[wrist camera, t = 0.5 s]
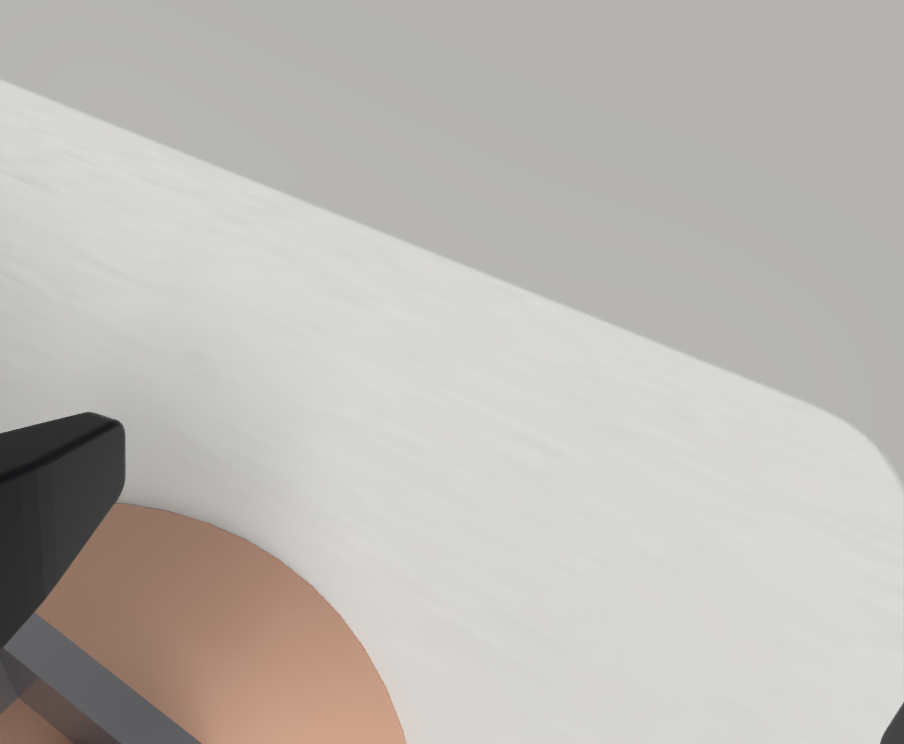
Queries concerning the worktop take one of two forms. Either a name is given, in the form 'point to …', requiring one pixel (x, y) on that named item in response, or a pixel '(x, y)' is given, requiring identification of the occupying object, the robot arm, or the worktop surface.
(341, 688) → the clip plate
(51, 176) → the worktop surface
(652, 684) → the worktop surface
